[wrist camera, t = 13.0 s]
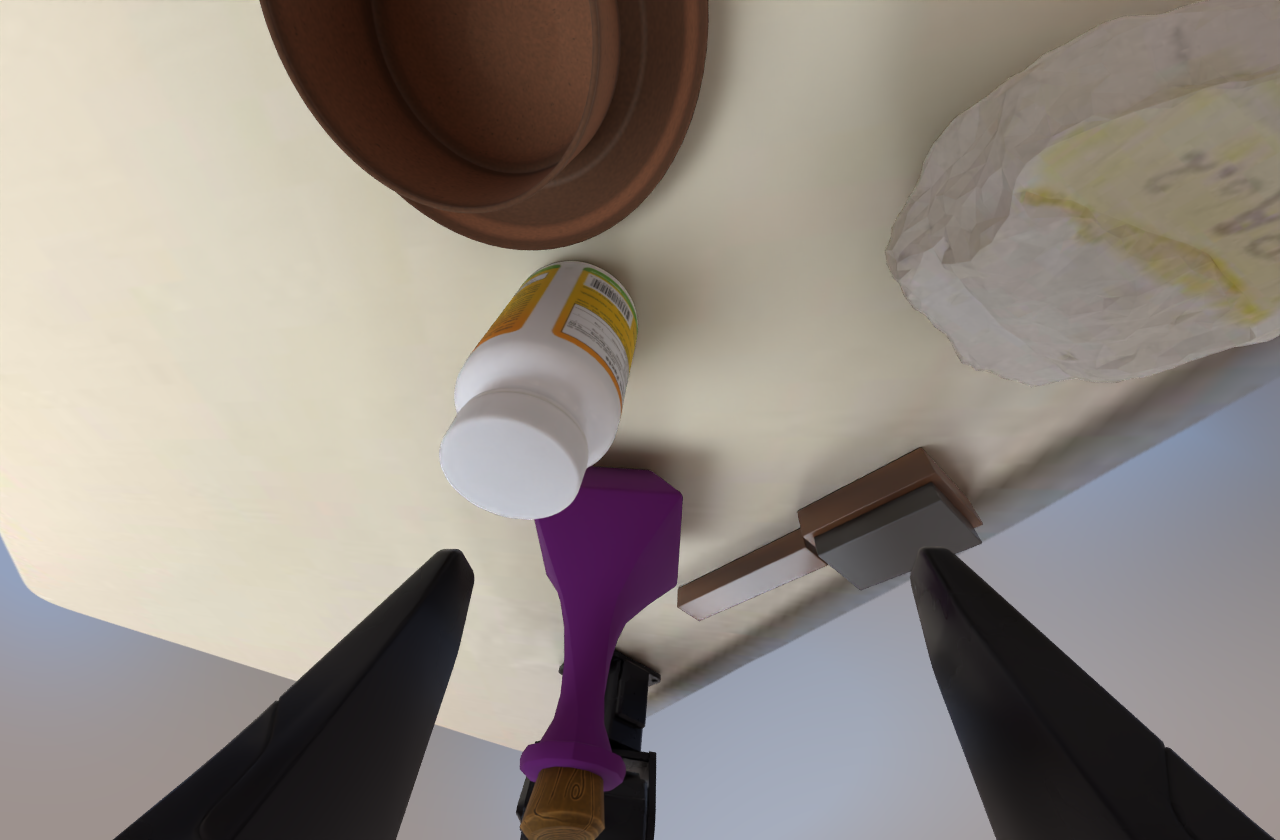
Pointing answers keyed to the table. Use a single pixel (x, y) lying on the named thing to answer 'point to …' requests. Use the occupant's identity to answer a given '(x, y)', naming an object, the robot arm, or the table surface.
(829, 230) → the table surface
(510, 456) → the supplement bottle
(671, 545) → the perfume bottle
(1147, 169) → the fossil replica
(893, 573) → the hairbrush
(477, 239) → the cup and saucer
